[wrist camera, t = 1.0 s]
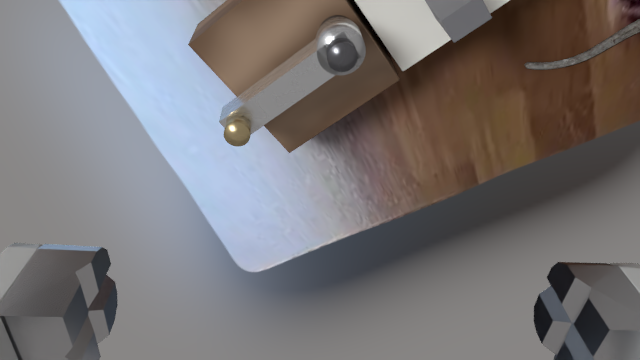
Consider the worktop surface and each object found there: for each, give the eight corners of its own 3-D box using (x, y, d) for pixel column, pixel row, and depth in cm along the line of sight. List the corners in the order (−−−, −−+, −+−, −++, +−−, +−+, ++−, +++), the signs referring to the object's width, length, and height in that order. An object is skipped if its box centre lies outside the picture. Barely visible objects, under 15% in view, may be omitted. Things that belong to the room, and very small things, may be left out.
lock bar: (344, 7, 36) (349, 24, 33) (370, 44, 38) (377, 64, 35) (217, 102, 40) (211, 126, 37) (246, 131, 42) (242, 157, 39)
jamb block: (197, 24, 43) (185, 50, 38) (306, -66, 39) (308, -51, 34) (289, 126, 49) (289, 160, 44) (390, 57, 46) (402, 85, 41)
